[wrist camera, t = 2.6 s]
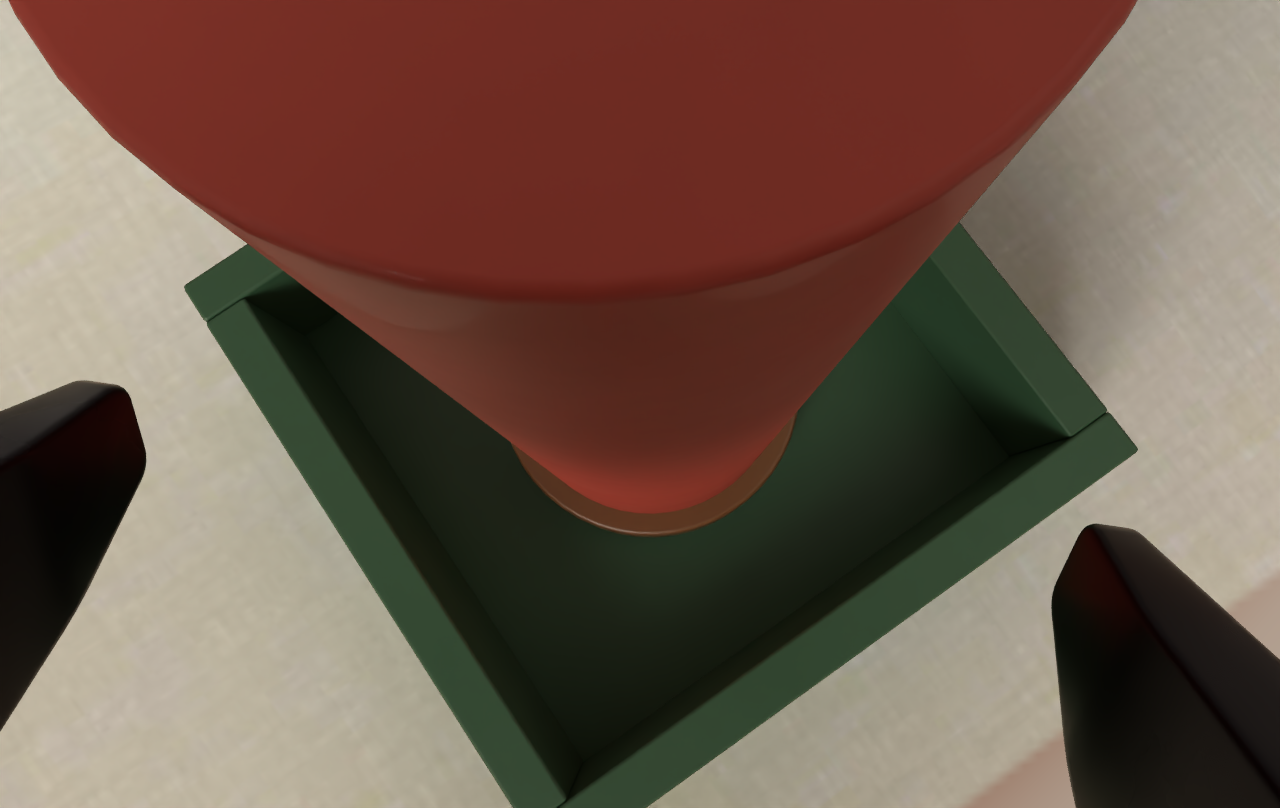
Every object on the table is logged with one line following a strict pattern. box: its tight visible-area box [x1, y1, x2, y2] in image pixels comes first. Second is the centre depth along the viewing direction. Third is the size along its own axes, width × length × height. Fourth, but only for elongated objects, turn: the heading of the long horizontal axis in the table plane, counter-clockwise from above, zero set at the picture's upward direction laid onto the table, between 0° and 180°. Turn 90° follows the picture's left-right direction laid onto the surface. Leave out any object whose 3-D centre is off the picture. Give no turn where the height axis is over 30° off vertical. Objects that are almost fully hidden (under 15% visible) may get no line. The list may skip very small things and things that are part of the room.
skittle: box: [9, 0, 1137, 537], centre depth 12 cm, size 6×6×16 cm
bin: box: [184, 222, 1138, 808], centre depth 18 cm, size 12×12×4 cm
